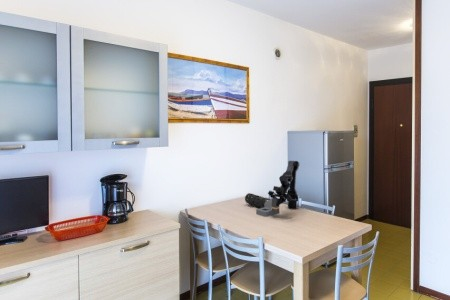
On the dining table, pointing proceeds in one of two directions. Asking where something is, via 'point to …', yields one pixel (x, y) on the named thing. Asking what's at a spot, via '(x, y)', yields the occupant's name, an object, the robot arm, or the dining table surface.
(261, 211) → the socket block
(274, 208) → the plug
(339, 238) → the dining table surface
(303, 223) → the dining table surface
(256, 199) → the black cylindrical piece
